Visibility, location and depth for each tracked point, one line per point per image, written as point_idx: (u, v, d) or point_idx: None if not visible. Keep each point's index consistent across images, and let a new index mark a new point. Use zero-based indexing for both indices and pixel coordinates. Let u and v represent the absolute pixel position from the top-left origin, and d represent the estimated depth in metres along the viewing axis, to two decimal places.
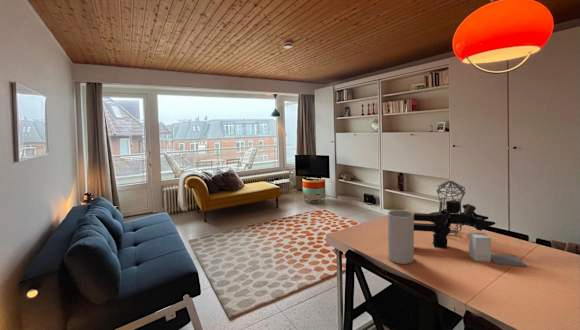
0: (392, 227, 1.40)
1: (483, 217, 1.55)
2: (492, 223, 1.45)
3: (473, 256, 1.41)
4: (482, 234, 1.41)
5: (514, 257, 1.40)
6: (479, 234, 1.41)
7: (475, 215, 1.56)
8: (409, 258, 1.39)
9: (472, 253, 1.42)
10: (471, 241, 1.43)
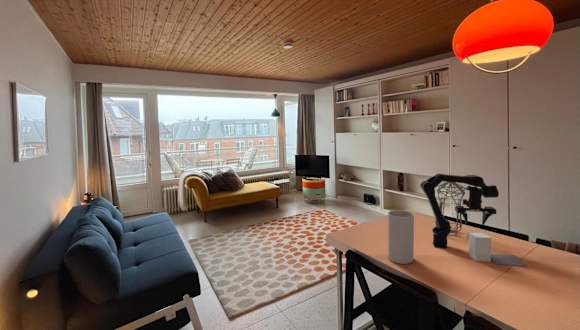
0: (392, 227, 1.40)
1: None
2: None
3: (473, 256, 1.41)
4: (482, 234, 1.41)
5: (514, 257, 1.40)
6: (479, 234, 1.41)
7: None
8: (409, 258, 1.39)
9: (472, 253, 1.42)
10: (471, 241, 1.43)
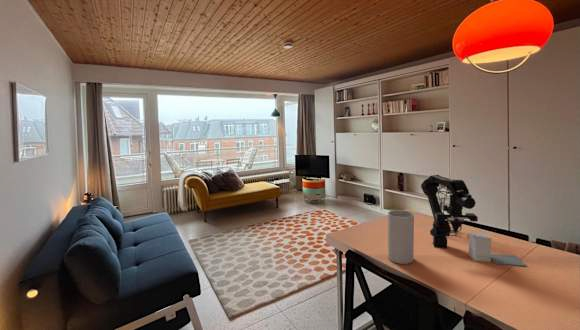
0: (392, 227, 1.40)
1: None
2: None
3: (473, 256, 1.41)
4: (482, 234, 1.41)
5: (514, 257, 1.40)
6: (479, 234, 1.41)
7: None
8: (409, 258, 1.39)
9: (472, 253, 1.42)
10: (471, 241, 1.43)
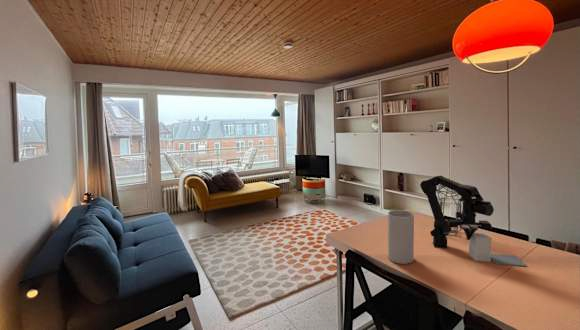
0: (392, 227, 1.40)
1: None
2: None
3: (473, 256, 1.41)
4: (482, 234, 1.41)
5: (514, 257, 1.40)
6: (479, 234, 1.41)
7: None
8: (409, 258, 1.39)
9: (472, 253, 1.42)
10: (471, 241, 1.43)
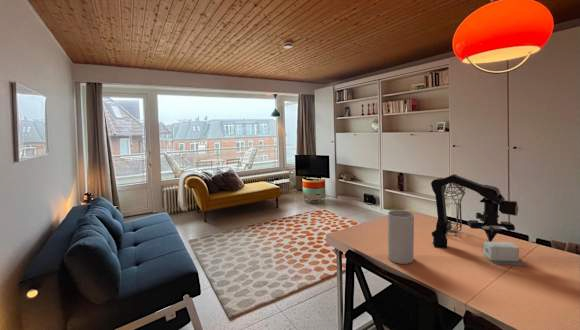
0: (392, 227, 1.40)
1: None
2: None
3: (492, 245, 1.38)
4: None
5: None
6: None
7: None
8: (409, 258, 1.39)
9: (493, 244, 1.39)
10: (505, 243, 1.40)
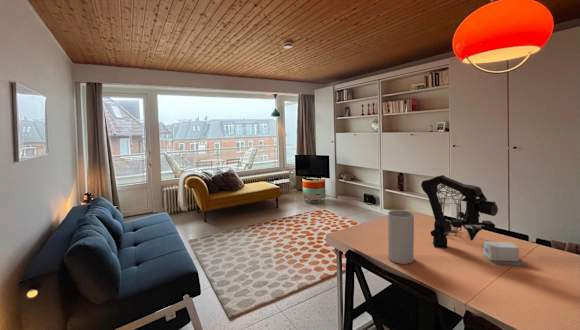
0: (392, 227, 1.40)
1: None
2: None
3: (492, 245, 1.38)
4: None
5: None
6: None
7: None
8: (409, 258, 1.39)
9: (493, 244, 1.39)
10: (505, 243, 1.40)
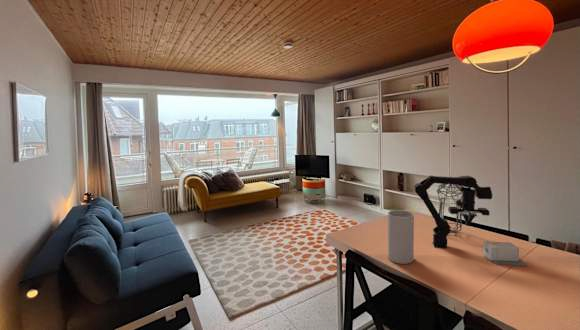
0: (392, 227, 1.40)
1: None
2: None
3: (492, 245, 1.38)
4: None
5: None
6: None
7: None
8: (409, 258, 1.39)
9: (493, 244, 1.39)
10: (505, 243, 1.40)
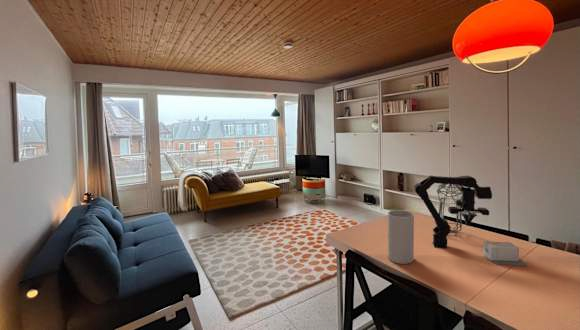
0: (392, 227, 1.40)
1: None
2: None
3: (492, 245, 1.38)
4: None
5: None
6: None
7: None
8: (409, 258, 1.39)
9: (493, 244, 1.39)
10: (505, 243, 1.40)
